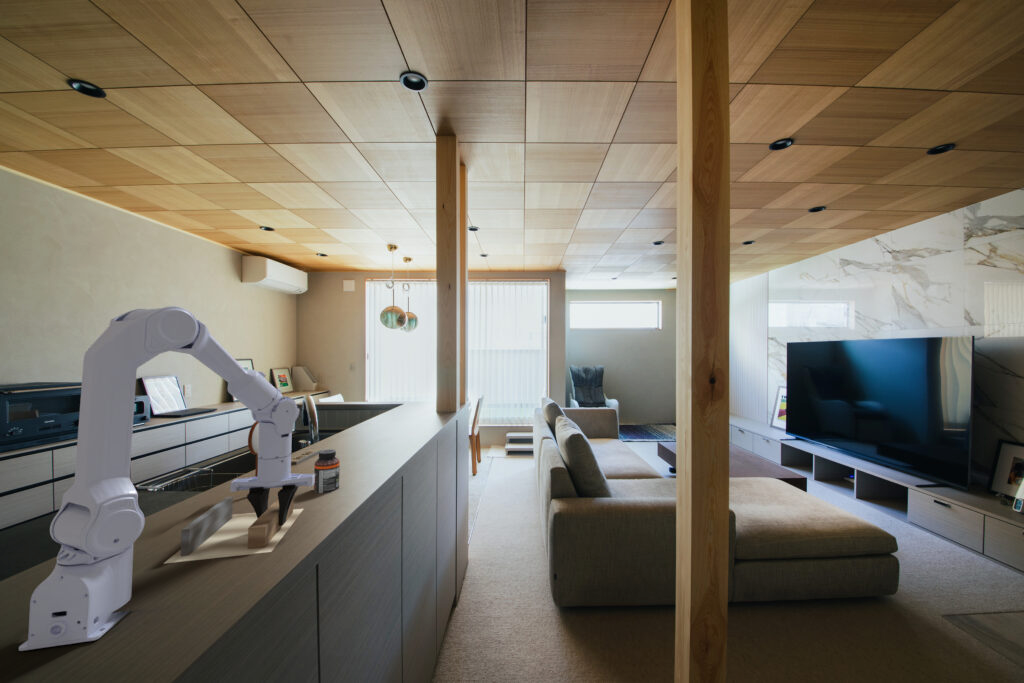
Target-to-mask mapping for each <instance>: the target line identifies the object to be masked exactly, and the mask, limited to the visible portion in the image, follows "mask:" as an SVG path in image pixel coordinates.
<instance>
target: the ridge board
mask: <svg viewBox="0 0 1024 683" xmlns="http://www.w3.org/2000/svg"><path fill="white" fill-rule="evenodd" d="M233 503H234V496H225V497H224V498H223V499H221V500H220V501H219V502H218V503H216V504H214V506H212V507H211V508H209V509H208V510H207V511H204V513H202V514H201V515H199V516H198V517H197V518H195V519H194V520H193V521H191V522H190V523H189V524H188V525H186V526H185V527H183V528H182V529H181V533H180V534H181V536H180V537H181V538H180V540H181V541H180V549H179V550H178V551H177V552H175V554H173V555H172V556H171V557H169V558H168V559H167V560H166V561H165V562H163V564H164V565H165V564H171V563H172V564H173V563H180V562H181V563H182V562H191V561H201V560H210V559H219V558H227V557H228V558H229V557H236V556H237V557H238V556H246V555H256V554H265V553H272V551H274V549H275V548H276V547H277V545H278V544H279V543H280V541H281V539H282V538H283V537H284V536H285V534H286V533H287V532H288V530H289V529H290V528H291V526H292V525H293V524H294V522H296V520H297V518H298V517H299V516H300V515H301V514H302V512H303V511H304V508H296V509H295V508H293V513H292V514H291V516H290V517H289V518H288V519H287V521H286V522H285V523H284V525H283V526H282V527H281V528H280V529H279V531H278V532H277V533H276V534H275V535H274V537H273V538H272V539H271V540H270V542H269V543H268V544H267V545H266V547H260V548H250V549H248V528H249V527H250V526H251V525H252V524H253V523H254V522H255V521H256V520H257V519H258V518H257V515H256V513H255V512H247V513H246V512H245V513H235V514H234V513H233V511H234V508H233V506H234V504H233Z"/></svg>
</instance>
